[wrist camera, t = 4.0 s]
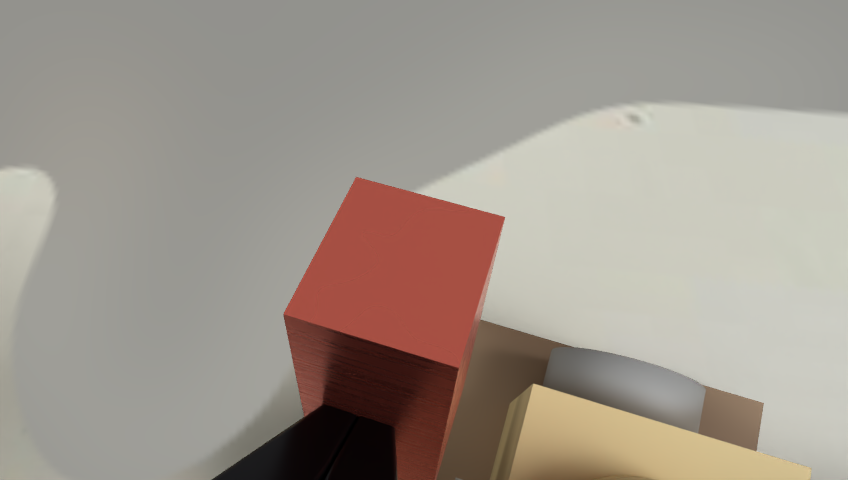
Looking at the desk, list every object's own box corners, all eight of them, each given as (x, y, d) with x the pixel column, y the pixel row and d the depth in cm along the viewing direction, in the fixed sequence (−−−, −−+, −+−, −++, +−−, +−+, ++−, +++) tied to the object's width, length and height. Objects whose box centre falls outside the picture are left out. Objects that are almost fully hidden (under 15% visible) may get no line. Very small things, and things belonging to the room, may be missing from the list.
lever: (409, 590, 13) (454, 386, 6) (329, 562, 14) (275, 331, 6) (441, 480, 15) (508, 205, 7) (367, 456, 15) (361, 165, 8)
